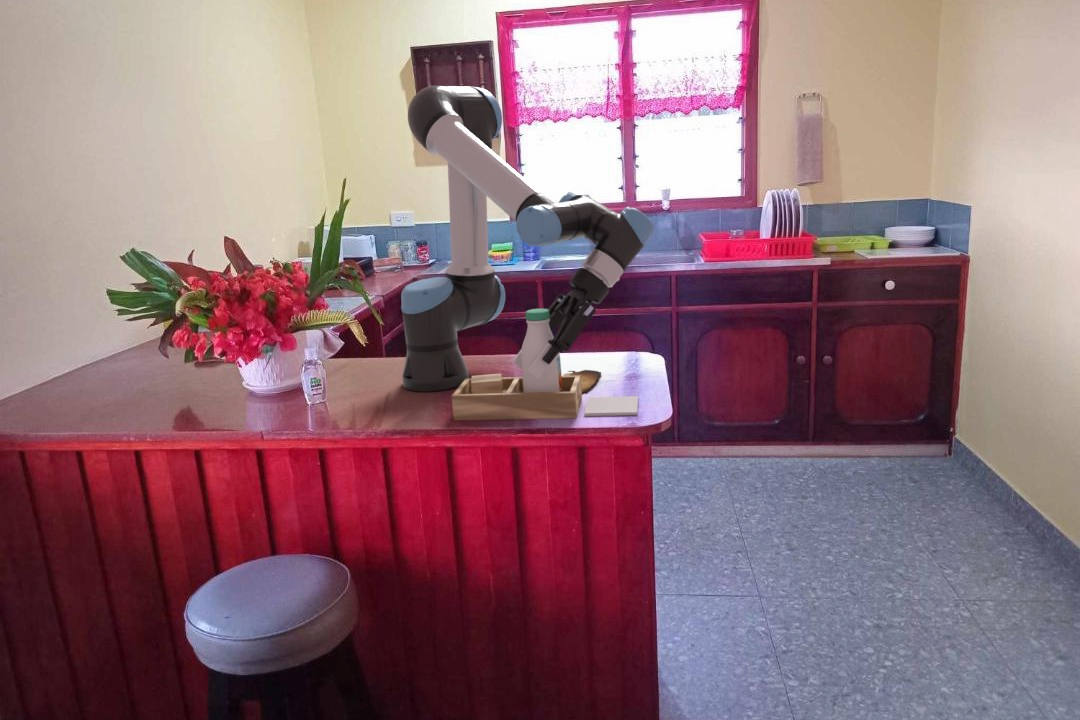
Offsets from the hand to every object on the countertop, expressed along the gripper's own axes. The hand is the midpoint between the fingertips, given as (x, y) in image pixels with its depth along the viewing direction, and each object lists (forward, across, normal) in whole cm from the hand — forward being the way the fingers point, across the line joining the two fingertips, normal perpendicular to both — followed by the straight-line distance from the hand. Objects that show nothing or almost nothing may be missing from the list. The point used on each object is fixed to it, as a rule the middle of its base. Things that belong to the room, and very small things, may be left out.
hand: (525, 370), depth 153 cm
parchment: (-4, +11, -17) cm, 20 cm away
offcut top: (+8, +6, 0) cm, 10 cm away
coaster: (-5, -7, -17) cm, 19 cm away
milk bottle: (+4, 0, -9) cm, 9 cm away
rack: (+7, +2, -5) cm, 9 cm away
